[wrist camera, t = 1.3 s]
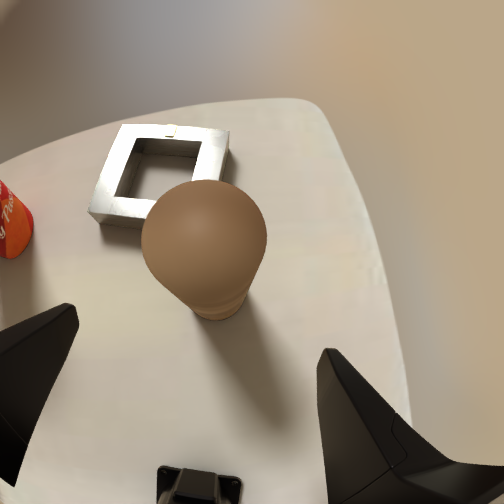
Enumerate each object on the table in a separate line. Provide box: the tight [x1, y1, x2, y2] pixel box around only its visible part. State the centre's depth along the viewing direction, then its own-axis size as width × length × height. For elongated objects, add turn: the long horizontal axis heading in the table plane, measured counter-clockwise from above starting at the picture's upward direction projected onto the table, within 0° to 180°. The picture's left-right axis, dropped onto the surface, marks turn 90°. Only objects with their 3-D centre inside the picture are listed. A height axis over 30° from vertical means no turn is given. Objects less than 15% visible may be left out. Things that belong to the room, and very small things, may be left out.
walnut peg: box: [141, 179, 267, 320], centre depth 15 cm, size 4×4×12 cm
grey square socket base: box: [87, 124, 229, 229], centre depth 22 cm, size 9×10×3 cm
